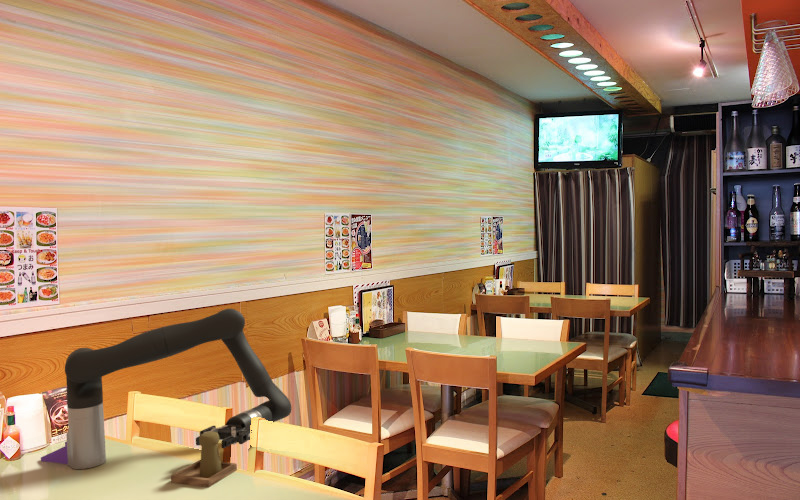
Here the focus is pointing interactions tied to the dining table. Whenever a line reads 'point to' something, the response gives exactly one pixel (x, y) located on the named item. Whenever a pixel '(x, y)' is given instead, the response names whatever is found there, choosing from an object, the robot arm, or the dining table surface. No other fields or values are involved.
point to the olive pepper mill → (209, 454)
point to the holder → (192, 477)
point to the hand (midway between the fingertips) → (209, 443)
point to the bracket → (57, 456)
